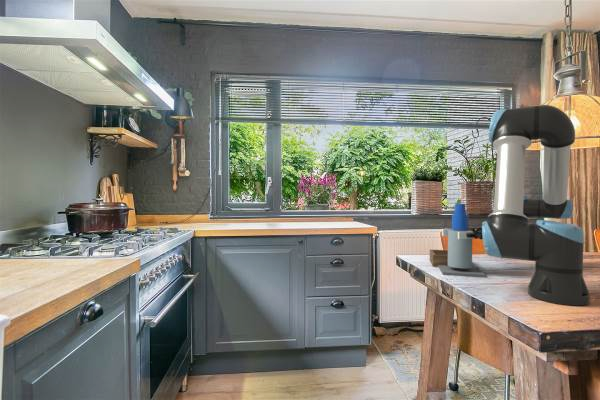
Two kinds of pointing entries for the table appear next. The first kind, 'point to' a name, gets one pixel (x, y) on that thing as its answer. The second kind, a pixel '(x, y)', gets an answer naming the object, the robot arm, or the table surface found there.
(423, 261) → the table surface
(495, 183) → the robot arm
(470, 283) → the table surface
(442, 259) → the walnut collar
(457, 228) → the spray bottle
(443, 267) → the rubber mat
